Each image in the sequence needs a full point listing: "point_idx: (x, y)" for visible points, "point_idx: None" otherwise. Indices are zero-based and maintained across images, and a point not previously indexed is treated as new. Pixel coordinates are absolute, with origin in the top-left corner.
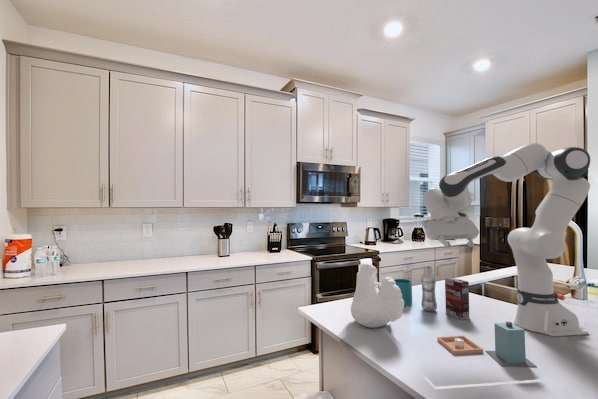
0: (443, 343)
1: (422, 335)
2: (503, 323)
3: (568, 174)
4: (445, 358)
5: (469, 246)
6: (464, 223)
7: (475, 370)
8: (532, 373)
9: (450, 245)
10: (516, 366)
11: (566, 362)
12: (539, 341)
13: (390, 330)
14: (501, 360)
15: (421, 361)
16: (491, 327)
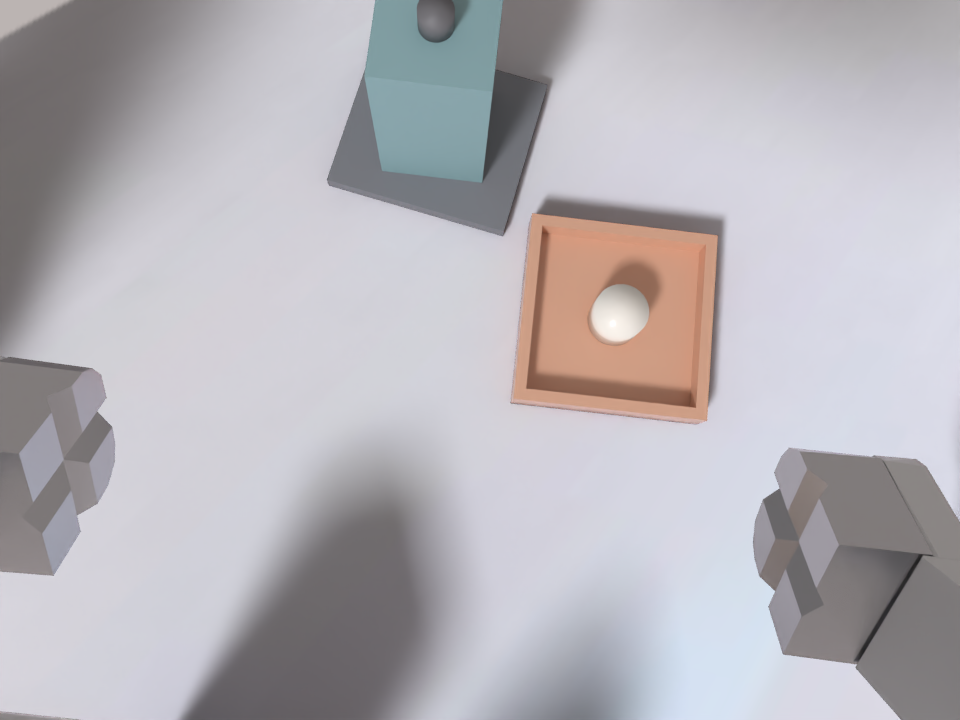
0: (707, 349)
1: (737, 541)
2: (432, 72)
3: None
4: (769, 240)
5: (112, 442)
6: None
7: (691, 106)
8: None
9: (789, 456)
10: None
11: (158, 56)
12: (36, 279)
13: None
14: (505, 122)
15: (918, 243)
16: (142, 546)
